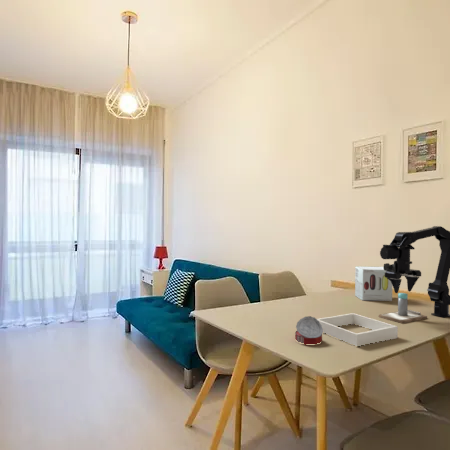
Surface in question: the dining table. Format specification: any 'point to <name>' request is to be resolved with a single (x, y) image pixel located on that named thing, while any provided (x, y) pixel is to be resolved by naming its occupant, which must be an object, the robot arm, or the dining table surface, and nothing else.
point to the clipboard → (403, 319)
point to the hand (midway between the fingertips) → (402, 292)
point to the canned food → (309, 331)
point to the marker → (402, 304)
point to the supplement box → (372, 284)
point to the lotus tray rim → (378, 332)
